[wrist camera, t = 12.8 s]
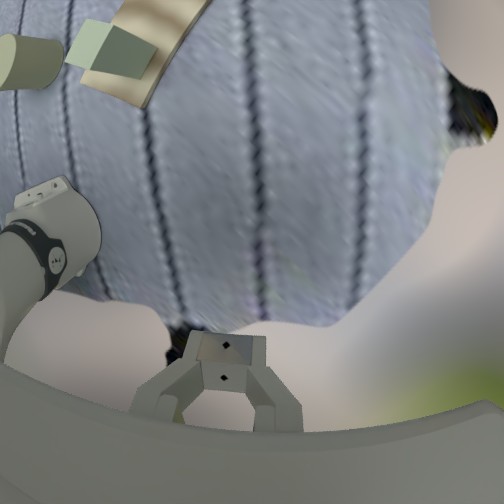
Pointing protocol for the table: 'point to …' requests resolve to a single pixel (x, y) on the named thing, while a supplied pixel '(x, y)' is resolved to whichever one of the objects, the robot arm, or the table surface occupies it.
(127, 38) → the sage key
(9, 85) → the can
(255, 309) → the table surface
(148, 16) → the wooden board
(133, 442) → the robot arm
